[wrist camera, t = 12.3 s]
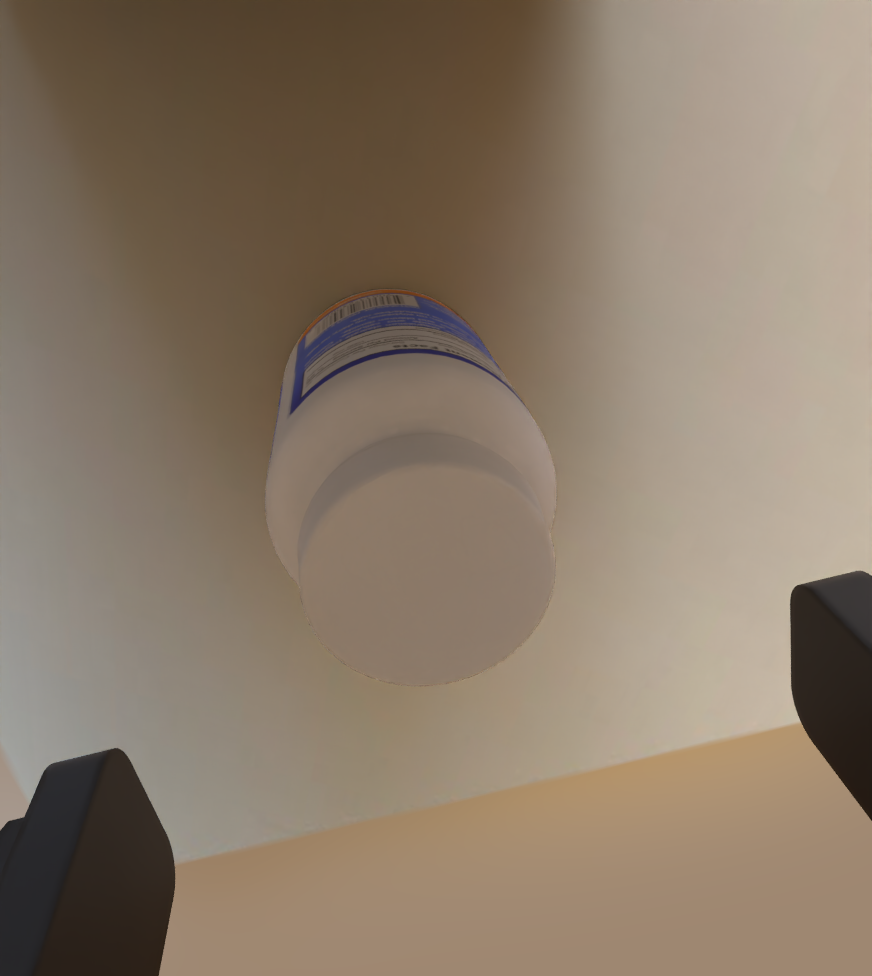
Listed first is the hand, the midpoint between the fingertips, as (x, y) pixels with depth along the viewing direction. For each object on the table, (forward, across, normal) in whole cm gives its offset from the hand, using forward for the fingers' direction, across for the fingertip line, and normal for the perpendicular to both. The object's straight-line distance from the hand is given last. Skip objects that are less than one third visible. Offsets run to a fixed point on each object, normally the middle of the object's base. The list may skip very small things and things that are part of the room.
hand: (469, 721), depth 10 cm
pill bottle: (+13, 0, 0) cm, 13 cm away
